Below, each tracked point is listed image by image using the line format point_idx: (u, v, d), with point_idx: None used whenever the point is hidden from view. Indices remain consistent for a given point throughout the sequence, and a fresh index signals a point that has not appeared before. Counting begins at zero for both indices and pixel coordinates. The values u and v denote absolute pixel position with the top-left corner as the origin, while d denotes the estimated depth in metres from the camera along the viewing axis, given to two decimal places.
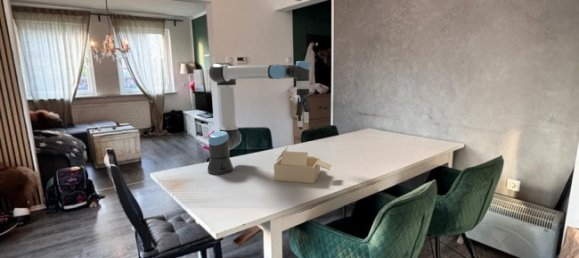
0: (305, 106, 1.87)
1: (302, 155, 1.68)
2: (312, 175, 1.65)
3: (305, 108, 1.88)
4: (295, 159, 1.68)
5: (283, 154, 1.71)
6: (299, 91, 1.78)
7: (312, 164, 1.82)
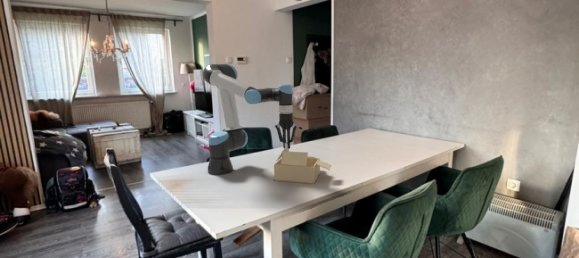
0: None
1: (302, 155, 1.68)
2: (312, 175, 1.65)
3: None
4: (295, 159, 1.68)
5: (283, 154, 1.71)
6: None
7: (312, 164, 1.82)
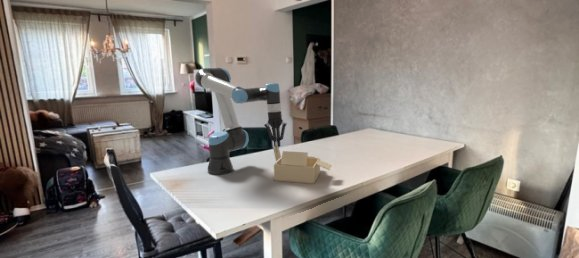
0: None
1: (302, 155, 1.68)
2: (312, 175, 1.65)
3: None
4: (295, 159, 1.68)
5: (283, 154, 1.71)
6: None
7: (312, 164, 1.82)
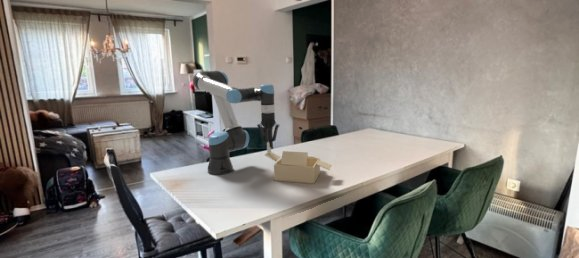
0: None
1: (302, 155, 1.68)
2: (312, 175, 1.65)
3: None
4: (295, 159, 1.68)
5: (283, 154, 1.71)
6: None
7: (312, 164, 1.82)
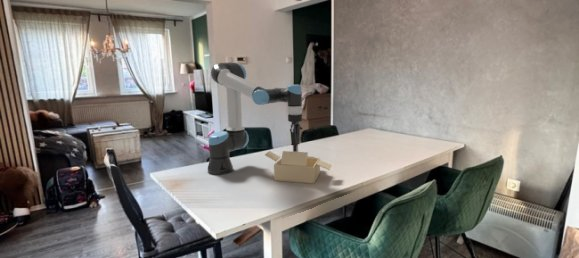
0: None
1: (302, 155, 1.68)
2: (312, 175, 1.65)
3: None
4: (295, 159, 1.68)
5: (283, 154, 1.71)
6: (291, 117, 1.64)
7: (312, 164, 1.82)
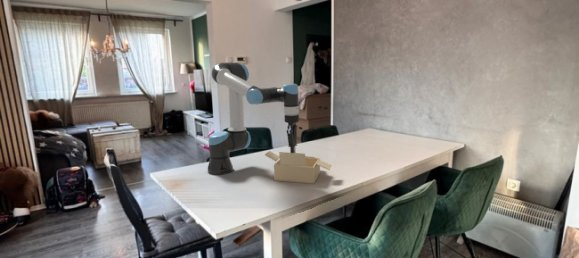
0: None
1: (300, 156, 1.63)
2: (312, 175, 1.65)
3: None
4: (294, 160, 1.65)
5: (280, 155, 1.66)
6: (287, 118, 1.58)
7: (312, 164, 1.82)
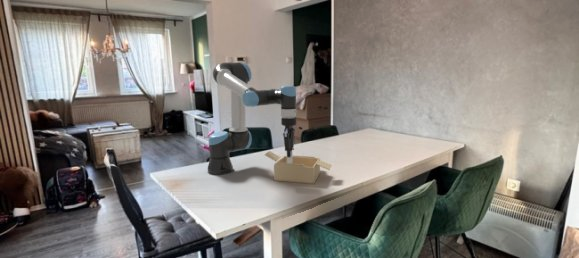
0: None
1: (298, 165, 1.60)
2: (312, 175, 1.65)
3: None
4: (293, 165, 1.63)
5: (278, 163, 1.63)
6: (284, 121, 1.53)
7: (312, 164, 1.82)
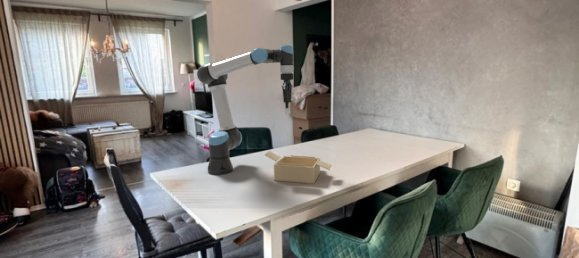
0: None
1: (298, 165, 1.60)
2: (312, 175, 1.65)
3: None
4: (293, 165, 1.63)
5: (278, 163, 1.63)
6: (283, 75, 1.78)
7: (312, 164, 1.82)
